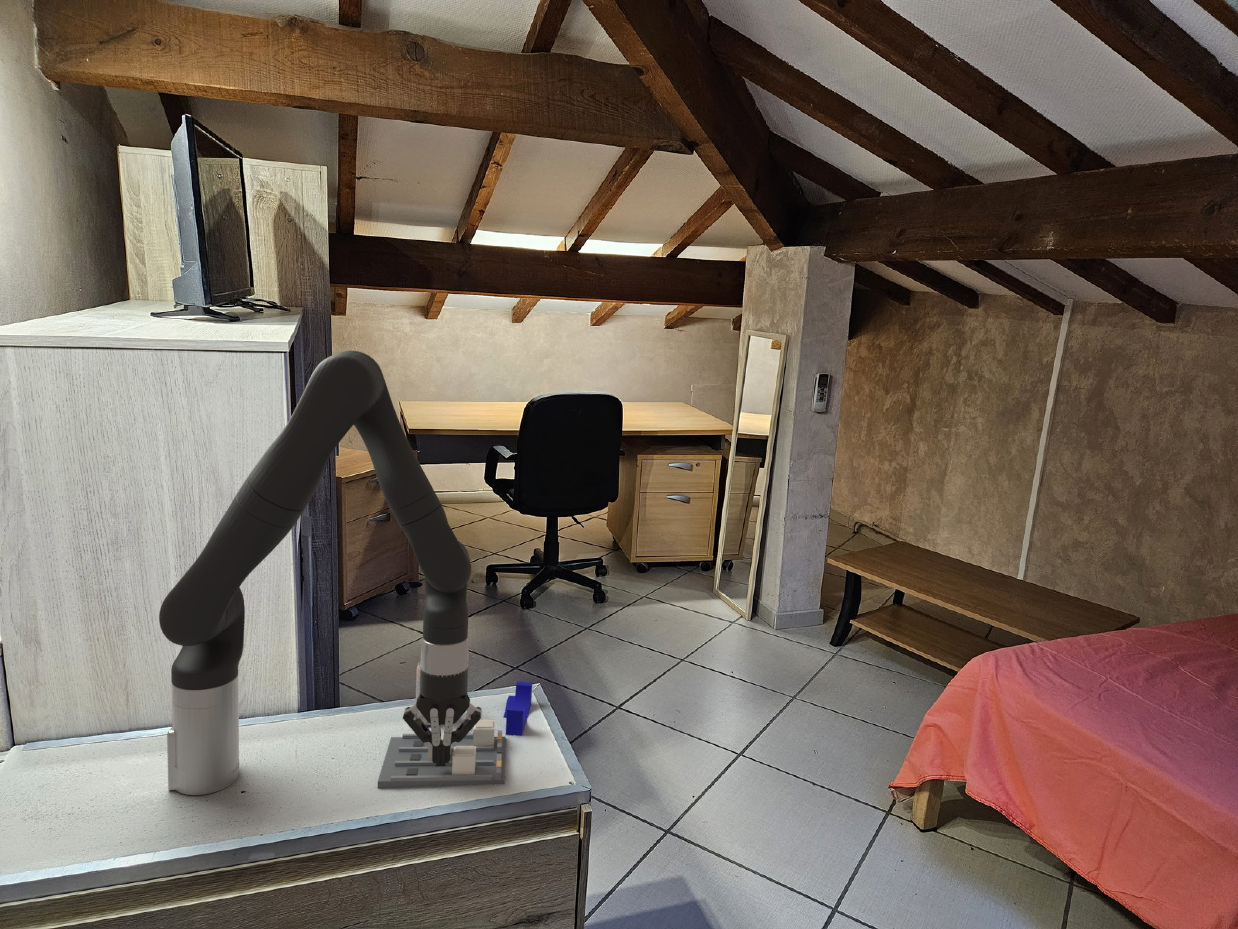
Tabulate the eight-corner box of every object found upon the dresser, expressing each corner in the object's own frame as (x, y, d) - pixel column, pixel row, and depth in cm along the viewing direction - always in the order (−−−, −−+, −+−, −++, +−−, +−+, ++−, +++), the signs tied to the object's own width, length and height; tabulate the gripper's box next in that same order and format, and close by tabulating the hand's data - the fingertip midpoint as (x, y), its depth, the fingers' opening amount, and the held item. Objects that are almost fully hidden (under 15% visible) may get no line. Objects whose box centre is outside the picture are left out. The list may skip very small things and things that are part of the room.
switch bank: (377, 788, 124) (377, 773, 123) (391, 743, 137) (391, 729, 137) (504, 786, 127) (504, 772, 126) (505, 742, 140) (505, 729, 140)
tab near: (451, 776, 126) (452, 755, 125) (453, 766, 129) (454, 745, 129) (474, 776, 127) (475, 755, 126) (475, 766, 130) (476, 744, 129)
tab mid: (427, 762, 130) (428, 741, 129) (429, 752, 133) (430, 731, 132) (449, 762, 130) (450, 741, 130) (451, 752, 133) (451, 731, 133)
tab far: (472, 748, 135) (473, 727, 135) (473, 738, 138) (474, 718, 138) (493, 748, 136) (494, 727, 135) (494, 738, 139) (495, 718, 138)
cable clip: (508, 709, 153) (509, 681, 152) (530, 711, 153) (532, 682, 152) (497, 740, 141) (498, 709, 140) (521, 742, 141) (523, 711, 140)
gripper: (398, 673, 120) (396, 777, 122) (485, 673, 122) (481, 776, 124) (405, 654, 127) (402, 752, 130) (486, 654, 129) (483, 751, 132)
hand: (441, 764), depth 127 cm, fingers closed
